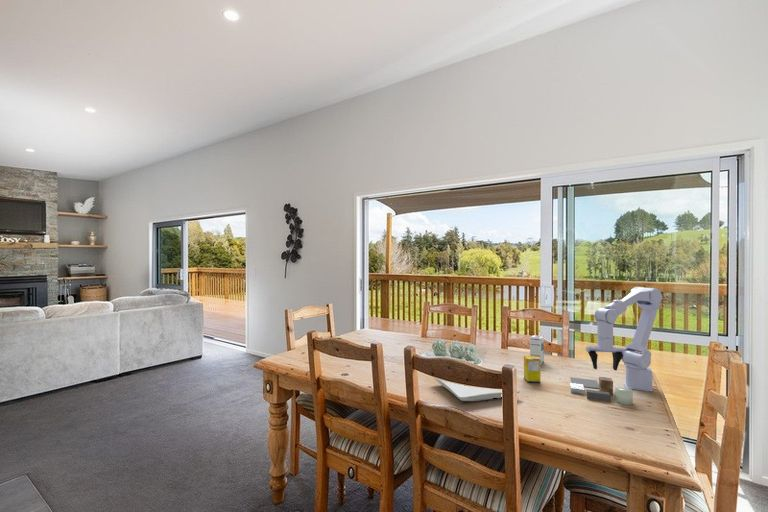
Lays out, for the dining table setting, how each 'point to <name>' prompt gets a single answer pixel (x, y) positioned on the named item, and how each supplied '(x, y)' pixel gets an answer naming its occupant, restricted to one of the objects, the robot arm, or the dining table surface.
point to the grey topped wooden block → (577, 388)
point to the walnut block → (606, 385)
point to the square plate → (470, 392)
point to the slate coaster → (585, 382)
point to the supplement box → (532, 369)
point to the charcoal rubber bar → (598, 395)
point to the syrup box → (537, 347)
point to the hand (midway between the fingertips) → (605, 369)
